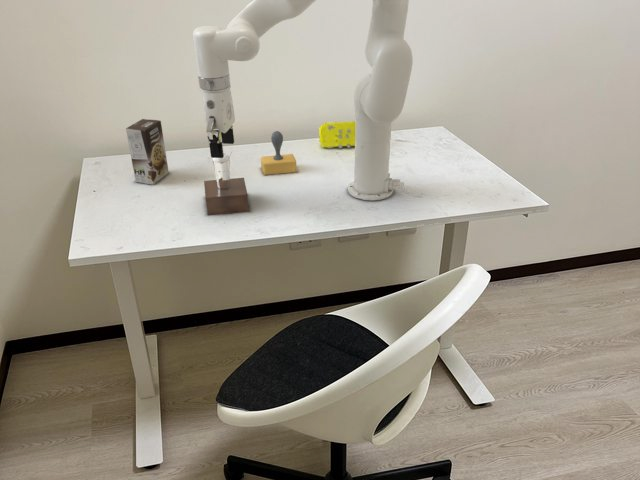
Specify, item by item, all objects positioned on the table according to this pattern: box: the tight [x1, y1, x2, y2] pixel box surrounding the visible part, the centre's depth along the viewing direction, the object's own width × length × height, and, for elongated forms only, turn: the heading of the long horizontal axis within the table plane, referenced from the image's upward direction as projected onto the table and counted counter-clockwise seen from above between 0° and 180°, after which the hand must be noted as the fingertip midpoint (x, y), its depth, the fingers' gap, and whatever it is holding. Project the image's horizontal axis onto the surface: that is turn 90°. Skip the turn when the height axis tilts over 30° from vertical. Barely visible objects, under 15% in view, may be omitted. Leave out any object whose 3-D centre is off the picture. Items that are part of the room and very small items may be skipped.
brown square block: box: [203, 177, 250, 216], centre depth 169 cm, size 11×11×5 cm
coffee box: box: [125, 118, 170, 185], centre depth 180 cm, size 9×6×16 cm
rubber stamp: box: [260, 130, 298, 176], centre depth 185 cm, size 10×6×12 cm, turn 103°
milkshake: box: [211, 151, 232, 189], centre depth 164 cm, size 4×5×10 cm
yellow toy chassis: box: [318, 121, 356, 150], centre depth 202 cm, size 16×6×8 cm, turn 97°
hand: (223, 150), depth 161 cm, fingers open, 9 cm apart
